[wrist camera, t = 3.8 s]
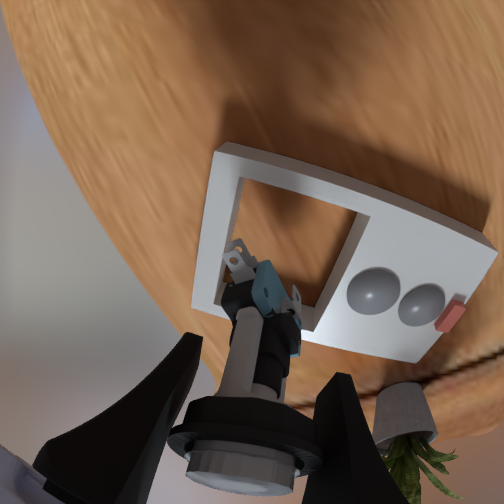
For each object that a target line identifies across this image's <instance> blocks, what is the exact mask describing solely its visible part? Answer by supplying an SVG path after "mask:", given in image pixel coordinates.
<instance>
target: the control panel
mask: <svg viewBox="0 0 504 504" xmlns="http://www.w3.org/2000/svg"><path fill="white" fill-rule="evenodd" d="M245 178H247V179H251V180H255V181H259V182H262V183H266V184H269V185H273V186H276V187H280V188H283V189H287V190H290V191H294V192H297V193H300V194H304V195H307V196H310V197H313V198H316V199H320V200H323V201H326V202H329V203H332V204H335V205H338V206H341V207H344V208H347V209H350V210H353V211H356V212H358V213H357V215H356V218H355V220H354V223H353V225H352V227H351V230H350V232H349V234H348V236H347V239H346V241H345V243H344V246H343V248H342V250H341V252H340V255H339V257H338V259H337V261H336V263H335V265H334V268H333V270H332V272H331V274H330V276H329V278H328V280H327V283H326V285H325V287H324V289H323V291H322V293H321V295H320V297H319V299H318V301H317V303H316V305H315V307H310V306H306V305H303V304H301V313H300V315H301V317H300V318H301V321H302V330H301V339H302V340H306V341H310V342H314V343H318V344H322V345H327V346H331V347H335V348H340V349H344V350H349V351H353V352H358V353H363V354H368V355H372V356H377V357H383V358H388V359H393V360H399V361H404V362H410V363H417V362H418V361H419V360H420V359H421V358H422V357H423V356H424V354H425V353H426V352H427V351H428V350H429V349H430V348H431V346H432V345H433V344H434V343H435V342H436V341H437V339H438V338H439V337H440V336H441V335H442V333H443V332H445V333H448V332H449V331H450V330H451V328H452V327H453V326H454V325H455V323H456V322H457V321H458V319H459V318H460V317H461V316H462V314H463V313H464V312H465V310H466V309H467V308H466V306H465V304H466V302H467V301H468V299H469V298H470V297H471V295H472V294H473V292H474V291H475V289H476V288H477V286H478V285H479V283H480V282H481V280H482V279H483V277H484V276H485V274H486V273H487V271H488V269H489V268H490V266H491V265H492V263H493V261H494V260H495V258H496V256H497V255H498V253H499V252H498V251H497V250H496V248H495V247H494V246H493V245H492V244H491V242H490V241H489V240H488V239H487V238H486V236H485V235H484V234H483V233H481V232H479V231H477V230H475V229H473V228H471V227H469V226H467V225H465V224H463V223H461V222H459V221H457V220H455V219H453V218H451V217H448V216H446V215H444V214H442V213H440V212H438V211H435V210H433V209H431V208H428V207H426V206H424V205H422V204H419V203H417V202H415V201H412V200H410V199H407V198H405V197H402V196H400V195H397V194H395V193H392V192H390V191H387V190H385V189H382V188H379V187H377V186H374V185H371V184H369V183H366V182H363V181H361V180H358V179H355V178H352V177H349V176H346V175H343V174H340V173H337V172H334V171H331V170H328V169H325V168H322V167H319V166H316V165H313V164H309V163H306V162H303V161H300V160H296V159H293V158H289V157H286V156H282V155H279V154H275V153H271V152H268V151H264V150H260V149H256V148H252V147H248V146H244V145H240V144H236V143H232V142H226V143H224V144H223V145H222V146H220V147H219V148H218V149H216V150H215V151H214V155H213V161H212V166H211V172H210V178H209V184H208V190H207V196H206V202H205V208H204V215H203V221H202V228H201V234H200V241H199V248H198V256H197V263H196V271H195V279H194V287H193V295H192V304H191V308H194V309H197V310H200V311H203V312H206V313H210V314H213V315H216V316H219V317H223V318H226V319H229V320H230V318H229V317H228V315H227V314H226V313H225V311H224V310H223V308H222V306H221V298H222V295H223V292H224V289H225V287H226V284H227V283H226V282H223V279H224V274H225V269H226V262H225V260H224V259H223V257H222V254H223V253H225V252H228V251H229V249H228V247H227V243H228V242H231V241H232V236H233V232H234V227H235V222H236V218H237V213H238V209H239V204H240V200H241V196H242V191H243V187H244V182H245Z"/></svg>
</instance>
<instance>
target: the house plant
mask: <svg viewBox="0 0 504 504" xmlns="http://www.w3.org/2000/svg"><path fill="white" fill-rule="evenodd" d="M437 436H438V432H437V429H436V426H435V423H434V420H433V417H432V414H431V412H430V409H429V406H428V403H427V401H426V398H425V396H424V393H423V390H422V388H421V386H420V385H419V384H417V383H412V382H404V383H398V384H394V385H392V386H389V387H387V388H386V389H384V390H383V391H381V392H380V393H379V395H378V396H377V402H376V410H375V418H374V426H373V433H372V437H373V440H374V442H375V444H376V447H377V449H378V451H379V453H380V455H381V458H382V460H383V461H384V463H385V465H386V467H387V469H388V470H389V469H390V468H391V470H390V472H389V473H390V474H391V476H392V478H393V479H394V481H395V483H396V484H397V486H398V487H399V489H400V490H401V492H402V493H403V495H404V496H405V497H406V499H407V500H408V501H409V503H410V504H421V485H420V483H419V480H420V473H419V472H420V471H419V468H420V469H421V470H422V471H423V472H424V473H425V474H426V475H427V477H428V478H429V480H430V481H431V482H432V483H433V484H434V485H435V487H437V488H438V489H439V490H440V491H441V492H443V493H444V494H446V495H448V496H450V497H454V498H457V499H463V500H464V499H466V498H462V497H459V496H457V494H456V495H455V493H454V492H451V491H450V490H448V489H447V488H446V487H445V486H444V485H443V484H442V483H441V482H440V481H439V480H438V478H437V477H436V476H435V475H434V474H433V473H432V472H431V471H430V470H429V469H428V468H427V467H426V465H425V464H424V463H423V462H422V461H421V460H420V459H419V458H418V456H419V457H421V458H422V459H424V460H425V461H426V462H428V463H429V464H430V465H431V466H432V467H434V468H435V469H437V470H438V471H440V472H441V473H443V474H449V472H448V471H446V468H445V466H444V465H443V464H441V463H440V462H445V461H450V460H453V459H455V458H457V457H458V456H456V455H453V453H454V451H453V452H452V453H450V454H444V453H441V452H438V451H435V450H434V449H433V448H432V447H431V446H430V445H429V444H430V443H431V442H433V441H434V440H435V439H436V438H437ZM423 447H424V448H425V449H426V451H427V452H426V451H425V450H424V448H423ZM417 454H418V456H417ZM385 456H388V457H387V458H385ZM434 457H435V458H437V459H435V458H434ZM418 467H419V468H418Z"/></svg>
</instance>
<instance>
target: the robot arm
mask: <svg viewBox="0 0 504 504" xmlns="http://www.w3.org/2000/svg"><path fill="white" fill-rule="evenodd" d="M202 341H203V337H202V336H199V335H196V334H193V333H190V332H186V333H185V334H184V335H183V336H182V338H181V339H180V341H179V342H178V343H177V344H176V346H175V347H174V348H173V349H172V350H171V352H170V353H169V354H168V355H167V356H166V357H165V358H164V360H163V361H162V362H161V363H160V364H159V365H158V366H157V367H156V368H155V369H154V370H153V371H152V372H151V373H150V374H149V375H148V376H147V377H146V378H145V379H144V380H143V381H141V382H140V383H139V384H138V385H137V386H136V387H135V388H134V389H132V390H131V391H130V392H129V393H128V394H126V395H125V396H124V397H123V398H121V399H120V400H119V401H117V402H116V403H115V404H113V405H112V406H111V407H109V408H108V409H106V410H105V411H103V412H102V413H100V414H99V415H97V416H96V417H94V418H92V419H91V420H89V421H87V422H85V423H83V424H82V425H80V426H78V427H76V428H75V429H72V430H71V431H68V432H66V433H64V434H62V435H60V436H57V437H56V438H53V439H51V440H48V441H47V442H46V443H45V444H44V446H43V447H42V448H41V450H40V451H39V453H38V455H37V457H36V459H35V461H34V463H33V465H32V466H33V467H32V466H31V465H29V464H28V463H27V462H25V461H24V460H23V459H21V458H20V457H18V456H16V455H14V454H13V453H11V452H10V451H8V450H7V449H6V448H5V447H3V446H2V445H0V504H146V502H147V499H148V495H149V492H150V489H151V486H152V482H153V479H154V476H155V473H156V470H157V467H158V464H159V461H160V458H161V455H162V452H163V449H164V446H165V443H166V441H167V438H168V436H169V433H170V430H171V429H172V427H173V425H174V422H175V420H176V418H177V416H178V414H179V412H180V410H181V408H182V406H183V403H184V401H185V399H186V397H187V395H188V393H189V391H190V388H191V386H192V383H193V380H194V378H195V375H196V372H197V369H198V366H199V360H200V354H201V347H202ZM313 420H314V421H315V422H316V427H317V432H318V434H317V447H318V448H319V449H320V450H321V451H322V452H323V464H322V467H321V468H320V469H319V470H318V471H316V472H314V473H312V474H309V475H308V479H307V484H306V488H305V492H304V496H303V500H302V504H410V503H409V501H408V500H407V499H406V497H405V496H404V495H403V493H402V492H401V490H400V489H399V487H398V486H397V484H396V483H395V481H394V479H393V478H392V476H391V474H390V473H389V471H388V469H387V467H386V465H385V463H384V461H383V460H382V458H381V455H380V453H379V451H378V449H377V447H376V444H375V442H374V440H373V437H372V435H371V432H370V430H369V427H368V424H367V422H366V419H365V416H364V413H363V410H362V408H361V405H360V402H359V399H358V395H357V392H356V389H355V386H354V383H353V380H352V377H351V375H350V374H345V373H339V372H336V373H335V375H334V376H333V377H332V378H331V380H330V381H329V382H328V383H327V385H326V386H325V387H324V388H323V389H322V391H321V392H320V393H319V394H318V395H317V398H316V404H315V409H314V416H313Z"/></svg>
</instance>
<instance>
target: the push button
mask: <svg viewBox="0 0 504 504" xmlns="http://www.w3.org/2000/svg"><path fill="white" fill-rule="evenodd" d="M236 246H239V247H241V248H242V250H243V251H242V252H241V253H240V252H239V251H238V250H237V249H234V248H235V247H236ZM227 247H228V249H229V251H228V252H225V253H223V254H222V257H223V259H224V260H225V262H226V264H227V265H228V267H229V269H230V270H231V272H232V273H231V274H230V276H231V277H232V279H233V282H231V283H227V284H226V287H225V289H224V292H223V295H222V298H221V306H222V308H223V310H224V311H225V313H226V314H227V315H228V317H229V318H230V320H231V321H232V325H233V329H232V332H231V336H230V342H229V345H230V351H229V355H228V358H227V362H226V366H225V369H224V373H223V377H222V381H221V384H220V388H219V390H218V391H217V393H216V394H215V395H214V396H206V397H203V398H200V399H197V400H193V401H191V402H190V403H189V405H188V408H187V411H186V414H185V417H184V420H183V423H182V424H180V425H177V426H175V427H173V428H172V429H171V430H170V433H169V436H168V439H167V443H168V445H169V447H170V448H171V449H172V450H173V451H174V452H176V453H177V454H178V455H180V456H181V457H183V458H185V459H186V460H187V461H188V462H189V464H188V468H187V471H186V477H188V478H190V479H191V480H193V481H194V482H197V483H199V484H202V485H205V486H208V487H210V488H213V489H218V490H222V491H226V492H230V493H236V494H243V495H251V496H281V495H286V494H289V493H292V492H293V485H294V479H295V478H297V477H301V476H305V475H309V474H312V473H314V472H316V471H318V470H319V469H320V468H321V467H322V464H323V452H322V451H321V450H320V449H319V448H318V447H317V434H318V432H317V427H316V422H315V421H314V420H312V419H310V418H308V417H307V416H305V415H303V414H301V413H300V412H298V411H296V410H295V409H293V408H292V407H290V406H288V405H287V404H285V403H284V397H285V387H286V377H287V376H288V375H289V366H290V358H291V357H296V356H300V348H301V330H302V321H301V318H300V317H301V315H300V313H301V296H300V294H299V292H298V290H297V288H296V285H292V301H291V300H290V298H289V296H288V294H287V292H286V290H285V288H284V286H283V285H282V283H281V281H280V279H279V277H278V275H277V273H276V271H275V269H274V267H273V265H272V263H271V262H270V260H265V261H262V262H259V263H258V262H257V260H256V258H255V256H252V257H251V255H250V253H249V251H248V250H247V248H246V246H245V244H244V242H243V241H242V239H240V238H239V239H236V240H233V241H231V242H228V243H227ZM231 257H234V259H235V261H236V262H234V264H233V263H231V262H230V258H231ZM296 295H297V298H298V301H297V298H296Z"/></svg>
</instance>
